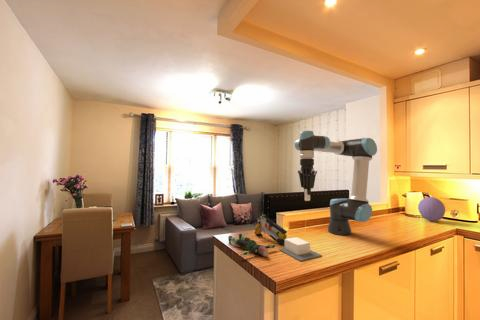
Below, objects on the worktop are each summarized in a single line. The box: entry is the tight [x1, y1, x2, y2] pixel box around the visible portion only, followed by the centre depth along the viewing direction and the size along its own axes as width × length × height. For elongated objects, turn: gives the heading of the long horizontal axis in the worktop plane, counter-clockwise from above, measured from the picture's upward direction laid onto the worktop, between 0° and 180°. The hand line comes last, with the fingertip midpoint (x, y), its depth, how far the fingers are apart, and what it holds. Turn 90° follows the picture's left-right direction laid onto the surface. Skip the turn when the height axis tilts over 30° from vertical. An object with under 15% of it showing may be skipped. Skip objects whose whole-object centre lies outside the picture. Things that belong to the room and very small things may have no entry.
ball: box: [417, 196, 446, 222], centre depth 188 cm, size 17×17×20 cm
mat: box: [278, 247, 323, 262], centre depth 119 cm, size 14×17×1 cm
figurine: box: [227, 233, 278, 257], centre depth 125 cm, size 26×6×30 cm
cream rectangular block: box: [283, 236, 311, 255], centre depth 122 cm, size 8×5×11 cm
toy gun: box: [254, 214, 288, 246], centre depth 142 cm, size 4×26×15 cm, turn 33°
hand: (307, 200), depth 127 cm, fingers closed
